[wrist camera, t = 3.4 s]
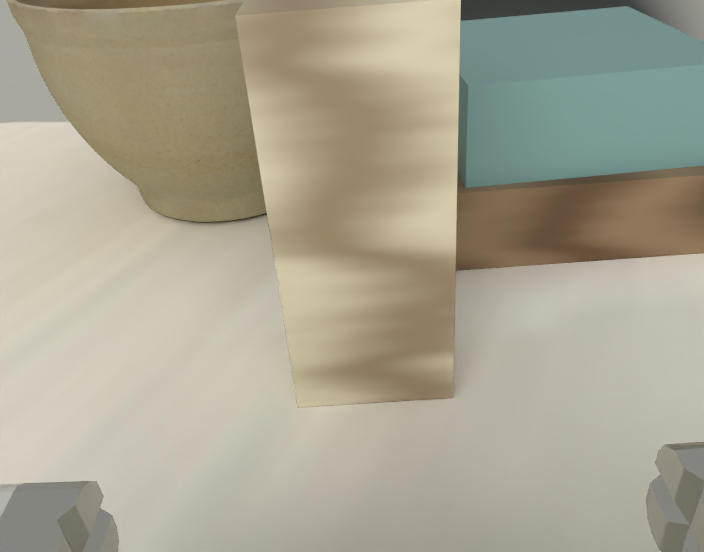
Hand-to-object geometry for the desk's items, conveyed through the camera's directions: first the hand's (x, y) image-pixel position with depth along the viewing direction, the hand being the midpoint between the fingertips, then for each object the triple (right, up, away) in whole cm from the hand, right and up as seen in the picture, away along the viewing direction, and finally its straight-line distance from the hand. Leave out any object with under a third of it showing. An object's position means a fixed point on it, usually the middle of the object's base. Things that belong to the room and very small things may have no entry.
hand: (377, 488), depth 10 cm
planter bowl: (-7, +8, +26) cm, 28 cm away
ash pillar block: (0, 0, +14) cm, 14 cm away
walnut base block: (+9, +6, +22) cm, 25 cm away
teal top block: (+9, +10, +20) cm, 24 cm away
